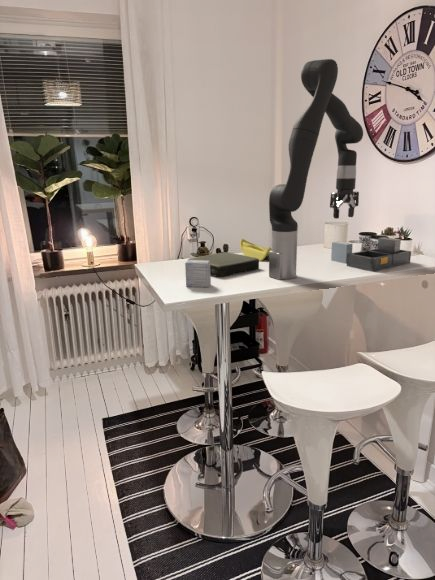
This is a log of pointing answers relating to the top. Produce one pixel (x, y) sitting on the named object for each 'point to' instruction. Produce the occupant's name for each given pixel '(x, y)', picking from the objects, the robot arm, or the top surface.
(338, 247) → the light blue block
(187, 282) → the medicine box
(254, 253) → the plastic component
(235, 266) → the network switch
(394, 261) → the tray
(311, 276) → the top surface
